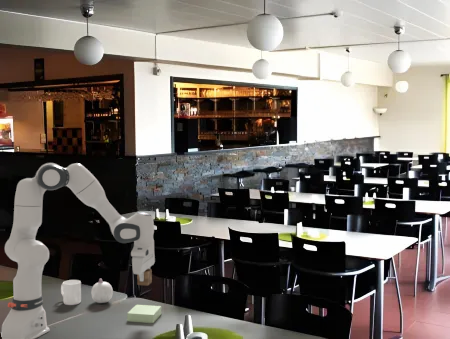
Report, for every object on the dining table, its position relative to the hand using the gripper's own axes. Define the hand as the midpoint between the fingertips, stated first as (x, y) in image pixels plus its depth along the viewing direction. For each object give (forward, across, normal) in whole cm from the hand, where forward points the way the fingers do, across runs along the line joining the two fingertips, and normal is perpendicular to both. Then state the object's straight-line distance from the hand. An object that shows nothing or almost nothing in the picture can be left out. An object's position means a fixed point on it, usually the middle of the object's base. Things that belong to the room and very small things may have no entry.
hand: (144, 279), depth 248 cm
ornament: (+18, -16, -27) cm, 36 cm away
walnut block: (+2, 0, 0) cm, 2 cm away
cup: (+18, -14, -43) cm, 49 cm away
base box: (+18, 0, 0) cm, 18 cm away
